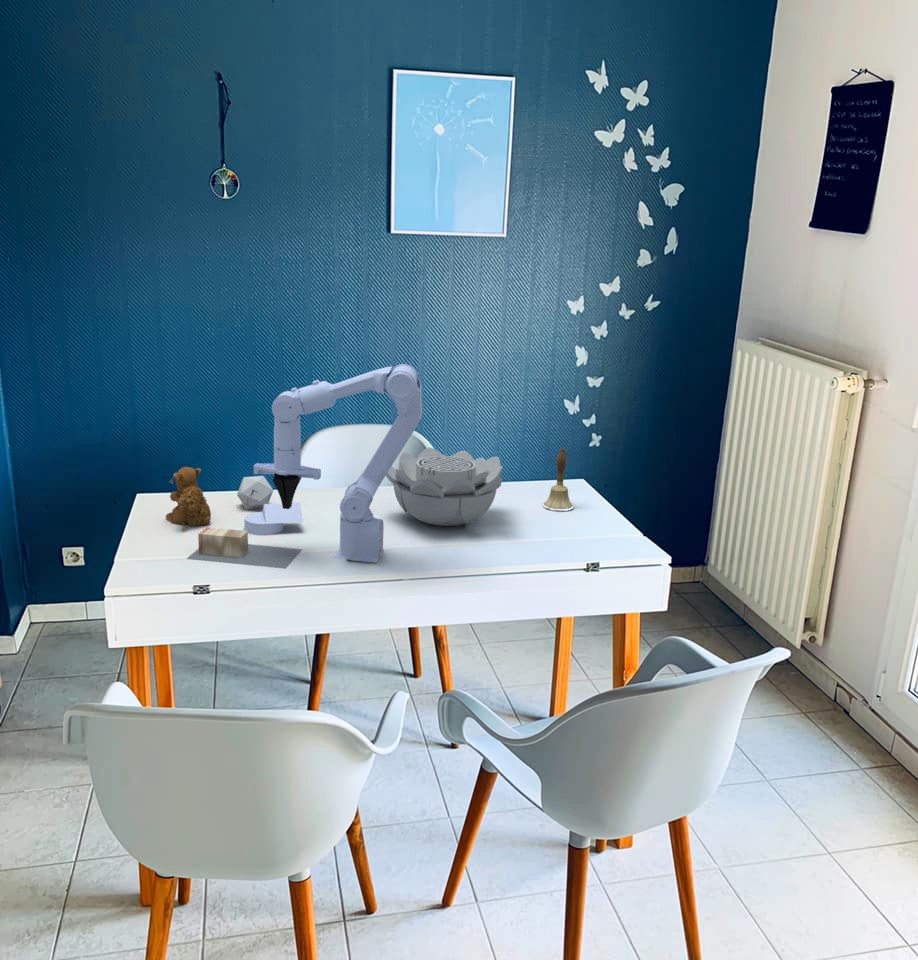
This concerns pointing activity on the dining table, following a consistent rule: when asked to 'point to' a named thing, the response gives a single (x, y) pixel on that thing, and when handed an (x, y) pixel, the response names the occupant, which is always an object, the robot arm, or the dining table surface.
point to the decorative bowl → (445, 486)
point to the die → (254, 492)
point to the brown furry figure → (189, 500)
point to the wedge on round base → (272, 519)
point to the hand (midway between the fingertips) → (287, 507)
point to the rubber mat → (255, 556)
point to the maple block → (223, 542)
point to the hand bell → (559, 486)
